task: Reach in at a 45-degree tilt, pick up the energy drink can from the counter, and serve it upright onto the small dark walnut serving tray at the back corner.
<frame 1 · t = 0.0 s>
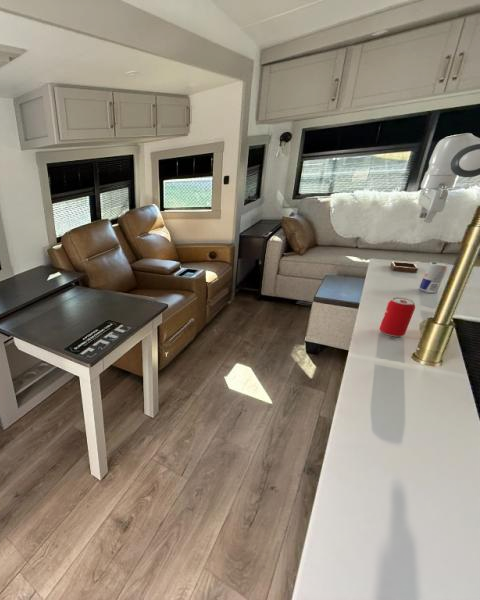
hand: (424, 219, 124), 29 cm above the table, tool pointing down, fingers open, 8 cm apart
energy drink: (427, 291, 130), on the table
beverage can: (390, 333, 105), on the table
serving tray: (403, 269, 153), on the table
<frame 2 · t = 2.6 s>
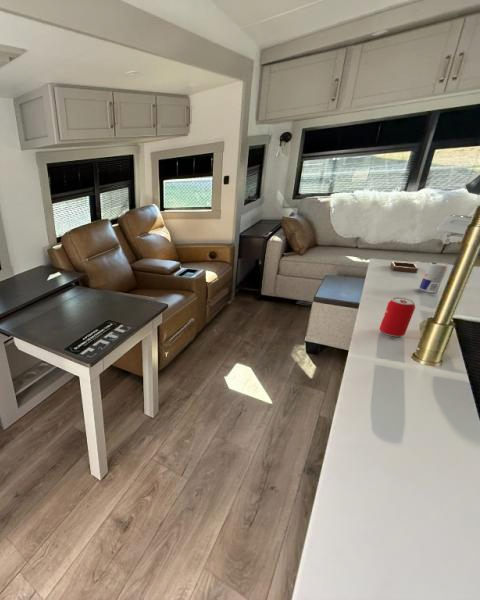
hand: (461, 245, 127), 17 cm above the table, tool tilted 45°, fingers open, 8 cm apart
nothing on the table moved.
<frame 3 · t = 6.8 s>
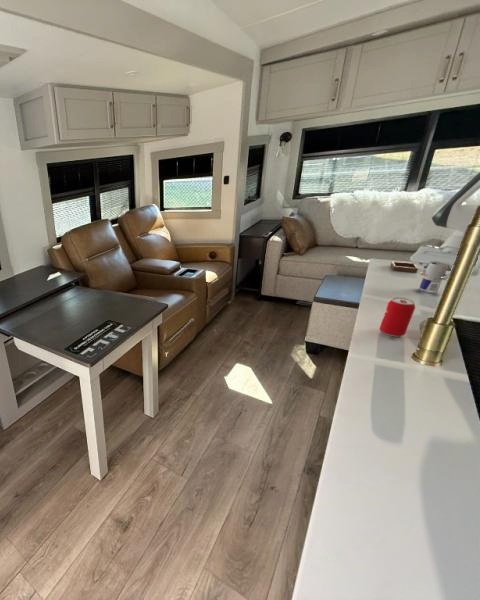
hand: (432, 276, 127), 6 cm above the table, tool tilted 45°, fingers closed on energy drink, 5 cm apart
energy drink: (427, 291, 130), on the table, touching gripper
everything else where it was.
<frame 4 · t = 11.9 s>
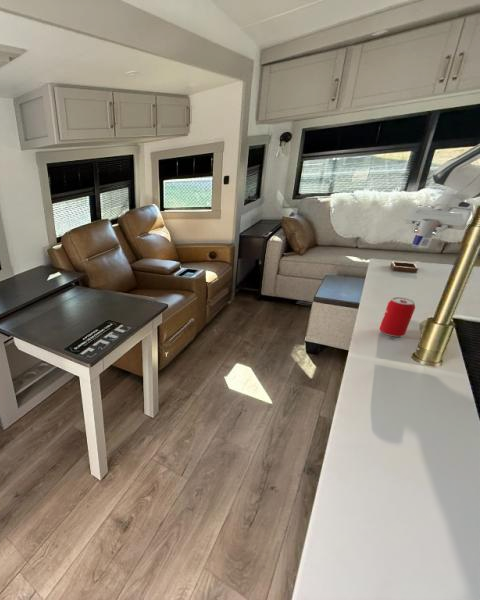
hand: (424, 233, 137), 20 cm above the table, tool tilted 45°, fingers closed on energy drink, 5 cm apart
energy drink: (419, 247, 140), point 13 cm above the table, touching gripper
everything else where it was.
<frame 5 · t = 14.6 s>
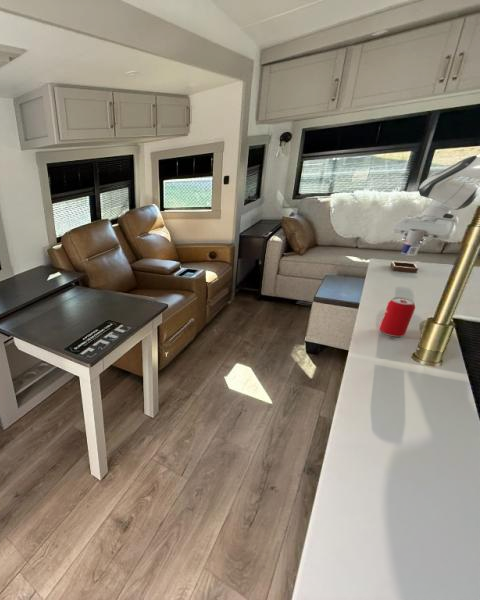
hand: (412, 242, 147), 13 cm above the table, tool tilted 45°, fingers closed on energy drink, 5 cm apart
energy drink: (408, 255, 150), point 7 cm above the table, touching gripper
everything else where it was.
when the fingers open (7 cm above the table, at t = 16.9 s): energy drink stays where it is, resting on serving tray.
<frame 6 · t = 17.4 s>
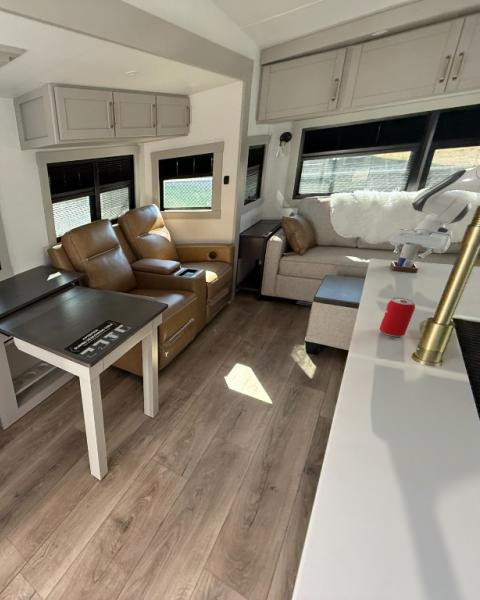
hand: (407, 255, 150), 7 cm above the table, tool tilted 45°, fingers open, 8 cm apart
energy drink: (403, 268, 153), resting on serving tray
everything else where it was.
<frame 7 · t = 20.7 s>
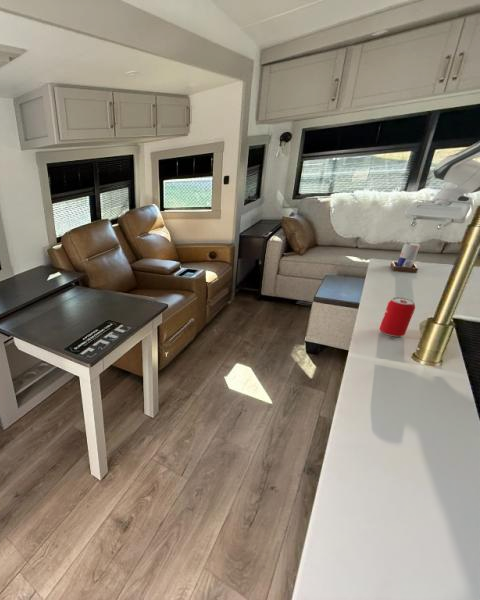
hand: (425, 227, 141), 21 cm above the table, tool tilted 45°, fingers open, 8 cm apart
nothing on the table moved.
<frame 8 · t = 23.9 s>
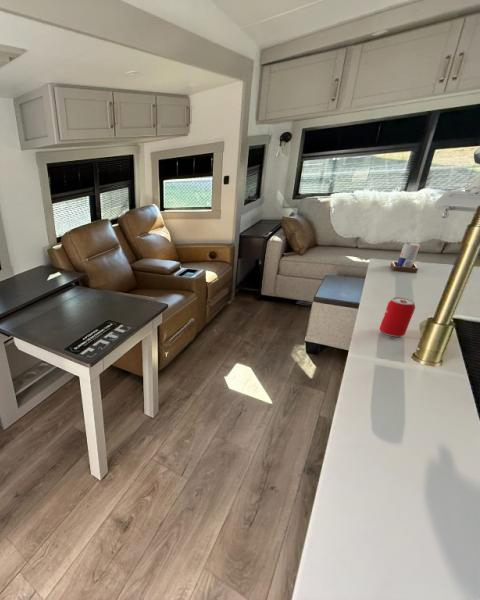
hand: (459, 218, 126), 27 cm above the table, tool tilted 45°, fingers open, 8 cm apart
nothing on the table moved.
at the end: energy drink 0.0 cm off-centre in the serving tray, point 0.4 cm above the serving tray's base; energy drink tilted 0°; the gripper is holding nothing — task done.
